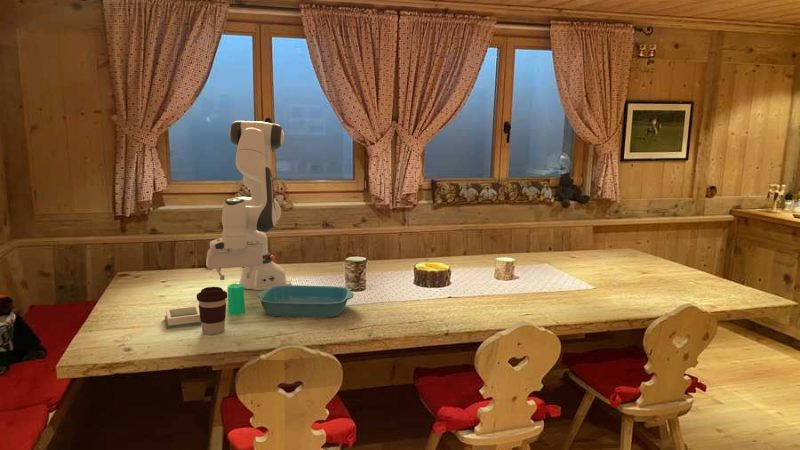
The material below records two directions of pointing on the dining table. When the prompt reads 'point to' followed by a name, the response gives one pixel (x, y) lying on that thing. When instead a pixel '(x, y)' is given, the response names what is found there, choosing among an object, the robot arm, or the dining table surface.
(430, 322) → the dining table surface
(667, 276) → the dining table surface
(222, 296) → the coffee cup
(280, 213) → the robot arm
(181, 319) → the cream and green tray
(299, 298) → the casserole dish
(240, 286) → the candle
